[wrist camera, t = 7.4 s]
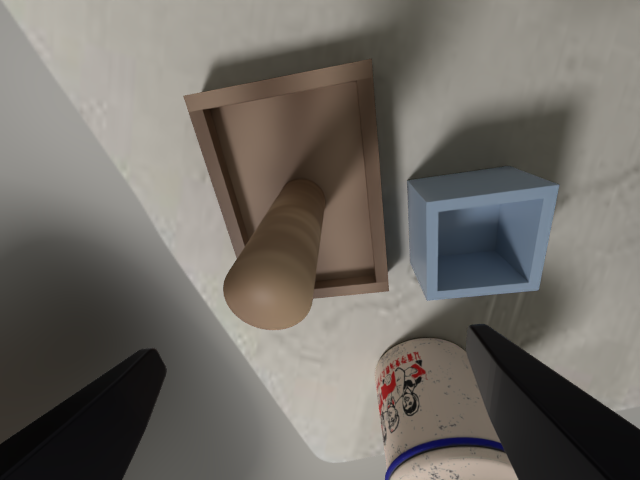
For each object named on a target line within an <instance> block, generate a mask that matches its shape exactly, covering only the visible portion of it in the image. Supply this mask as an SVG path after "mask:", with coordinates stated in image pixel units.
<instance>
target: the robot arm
mask: <svg viewBox="0 0 640 480" xmlns="http://www.w3.org/2000/svg"><path fill="white" fill-rule="evenodd" d="M466 353H467V357H468V360H469V363H470V365H471V368H472V371H473V374H474V377H475V380H476V382H477V385H478V388H479V391H480V394H481V397H482V399H483V402H484V405H485V408H486V410H487V413H488V416H489V418H490V420H491V423H492V425H493V427H494V429H495V431H496V434H497V436H498V438H499V440H500V442H501V444H502V446H503V448H504V450H505V453H506V455H507V457H508V459H509V461H510V463H511V465H512V467H513V469H514V472H515V474H516V476H517V478H518V480H640V429H638V428H637V427H636V426H634V425H632V424H631V423H630V422H628V421H627V420H625V419H624V418H623V417H621V416H620V415H618V414H617V413H615V412H614V411H612V410H611V409H609V408H608V407H606V406H605V405H603V404H602V403H601V402H599V401H598V400H596V399H595V398H593V397H592V396H590V395H589V394H587V393H586V392H584V391H583V390H581V389H580V388H579V387H577V386H576V385H574V384H573V383H571V382H570V381H568V380H567V379H565V378H564V377H562V376H561V375H560V374H558V373H557V372H555V371H554V370H552V369H551V368H549V367H548V366H546V365H545V364H543V363H542V362H540V361H539V360H538V359H536V358H535V357H533V356H532V355H530V354H529V353H527V352H526V351H524V350H523V349H521V348H520V347H518V346H517V345H516V344H514V343H513V342H511V341H510V340H508V339H507V338H505V337H504V336H502V335H501V334H499V333H498V332H496V331H495V330H494V329H492V328H491V327H489V326H488V325H485V324H477V325H470V326H468V329H467V341H466ZM166 372H167V369H166V365H165V364H164V362H163V360H162V358H161V356H160V354H159V352H158V351H157V350H156V349H155V348H146V349H141V350H139V351H137V352H136V353H134V354H133V355H131V356H130V357H128V358H127V359H125V360H124V361H122V362H121V363H119V364H118V365H116V366H115V367H113V368H112V369H110V370H109V371H107V372H106V373H104V374H103V375H102V376H100V377H99V378H97V379H96V380H94V381H93V382H91V383H90V384H88V385H87V386H85V387H84V388H82V389H81V390H80V391H78V392H76V393H75V394H74V395H72V396H71V397H69V398H68V399H66V400H65V401H63V402H62V403H60V404H59V405H57V406H56V407H54V408H53V409H52V410H50V411H48V412H47V413H45V414H44V415H43V416H41V417H39V418H38V419H36V420H35V421H34V422H32V423H31V424H29V425H28V426H26V427H25V428H23V429H22V430H20V431H19V432H17V433H16V434H14V435H13V436H11V437H10V438H8V439H7V440H5V441H4V442H3V443H1V444H0V480H122V479H123V477H124V475H125V473H126V470H127V469H128V466H129V464H130V462H131V460H132V458H133V456H134V454H135V451H136V449H137V447H138V445H139V443H140V441H141V438H142V436H143V434H144V432H145V430H146V427H147V425H148V422H149V420H150V417H151V414H152V412H153V409H154V406H155V403H156V401H157V398H158V395H159V393H160V390H161V387H162V385H163V382H164V379H165V376H166Z"/></svg>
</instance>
